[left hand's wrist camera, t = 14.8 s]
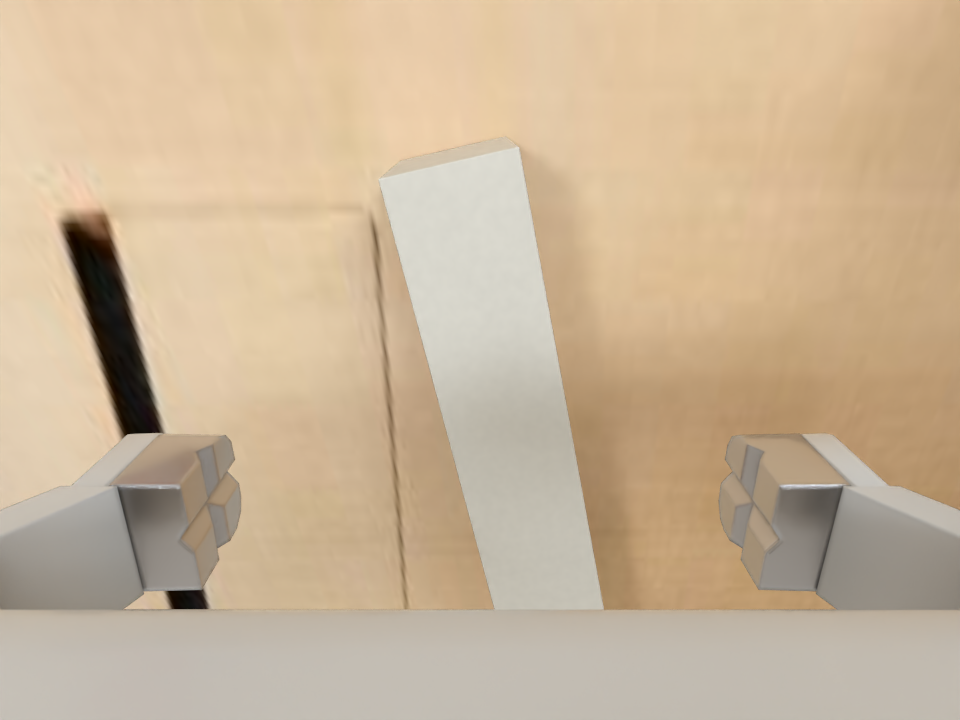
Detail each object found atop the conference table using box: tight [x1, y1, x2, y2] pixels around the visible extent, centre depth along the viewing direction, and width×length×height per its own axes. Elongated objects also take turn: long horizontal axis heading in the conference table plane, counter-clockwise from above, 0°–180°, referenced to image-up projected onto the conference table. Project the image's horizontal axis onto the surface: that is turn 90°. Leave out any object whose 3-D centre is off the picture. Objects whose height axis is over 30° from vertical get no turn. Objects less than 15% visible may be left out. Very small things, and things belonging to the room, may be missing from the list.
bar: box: [379, 137, 604, 610], centre depth 32 cm, size 28×5×8 cm, turn 12°
